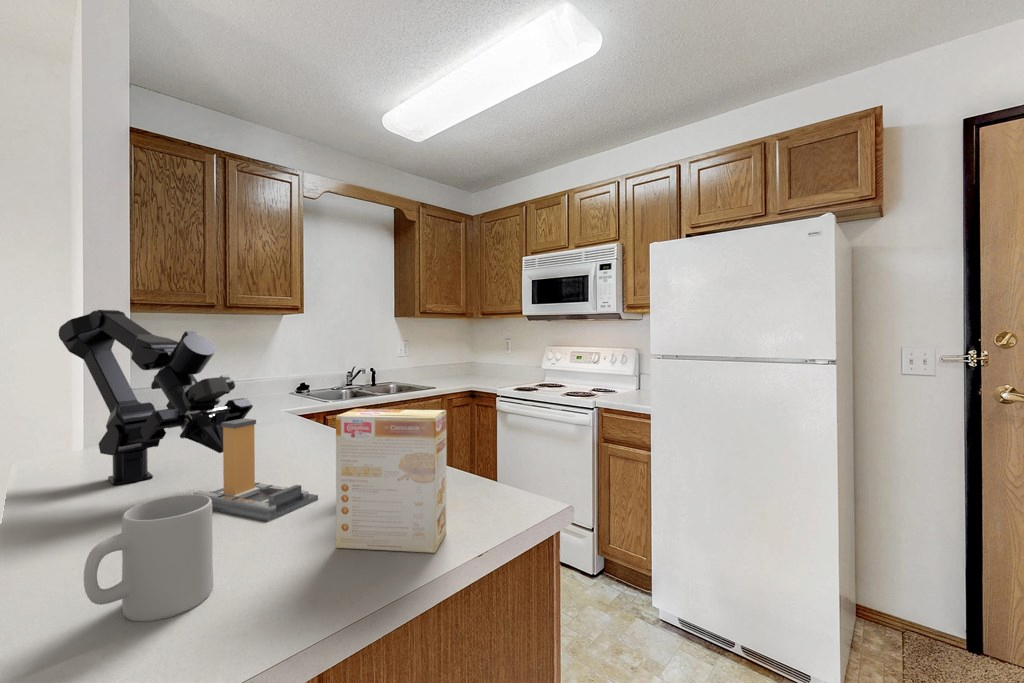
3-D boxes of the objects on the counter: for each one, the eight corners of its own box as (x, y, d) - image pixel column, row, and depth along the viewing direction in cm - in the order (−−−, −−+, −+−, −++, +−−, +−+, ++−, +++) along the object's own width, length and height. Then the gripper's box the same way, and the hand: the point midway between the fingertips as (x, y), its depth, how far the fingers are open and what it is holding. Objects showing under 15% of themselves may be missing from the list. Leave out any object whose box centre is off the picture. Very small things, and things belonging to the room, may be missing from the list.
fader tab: (218, 497, 85) (217, 422, 85) (241, 489, 90) (241, 418, 89) (236, 500, 83) (236, 424, 83) (259, 492, 88) (259, 419, 88)
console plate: (185, 504, 84) (185, 487, 84) (240, 486, 94) (240, 470, 94) (268, 521, 76) (268, 502, 76) (318, 499, 87) (318, 482, 87)
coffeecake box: (447, 533, 73) (447, 409, 72) (435, 554, 65) (435, 417, 65) (355, 528, 74) (355, 407, 74) (334, 549, 67) (334, 414, 67)
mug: (188, 574, 60) (188, 489, 60) (228, 591, 56) (228, 501, 56) (66, 626, 49) (65, 523, 49) (105, 651, 45) (104, 540, 45)
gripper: (150, 365, 81) (194, 433, 77) (246, 359, 98) (285, 415, 94) (122, 407, 84) (163, 475, 80) (220, 395, 101) (257, 450, 97)
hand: (223, 451), depth 88 cm, fingers closed
